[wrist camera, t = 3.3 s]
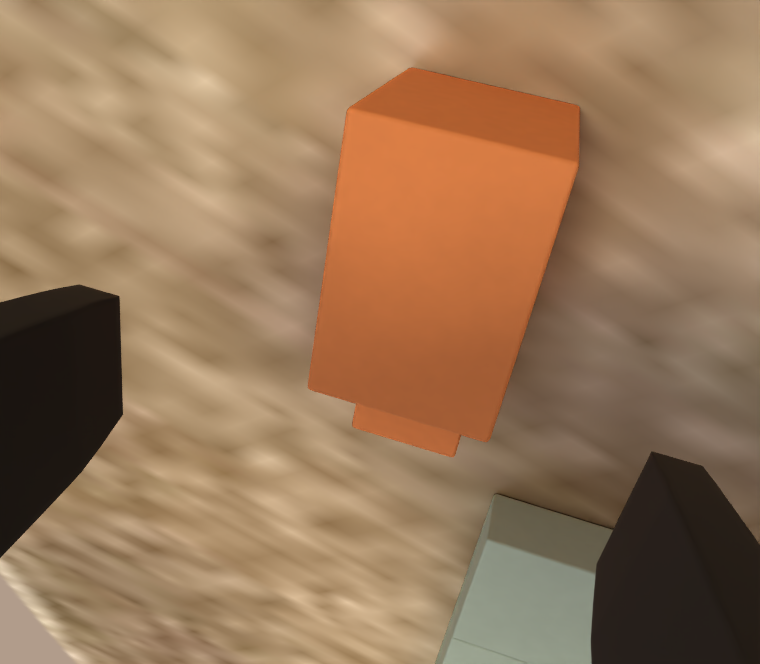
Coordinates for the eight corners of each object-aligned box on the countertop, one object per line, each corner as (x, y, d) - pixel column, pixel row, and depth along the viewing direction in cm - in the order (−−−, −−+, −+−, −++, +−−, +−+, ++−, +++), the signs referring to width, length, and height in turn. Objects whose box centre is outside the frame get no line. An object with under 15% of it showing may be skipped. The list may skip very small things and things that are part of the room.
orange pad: (580, 105, 15) (580, 162, 11) (478, 432, 20) (451, 559, 16) (409, 66, 16) (346, 106, 12) (349, 394, 21) (288, 507, 16)
